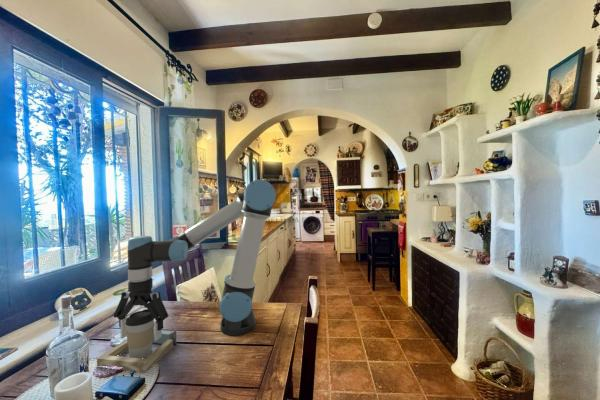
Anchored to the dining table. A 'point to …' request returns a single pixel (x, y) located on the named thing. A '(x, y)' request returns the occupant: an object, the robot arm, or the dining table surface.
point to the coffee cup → (140, 333)
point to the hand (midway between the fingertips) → (141, 337)
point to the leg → (163, 337)
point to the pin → (174, 337)
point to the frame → (133, 363)
